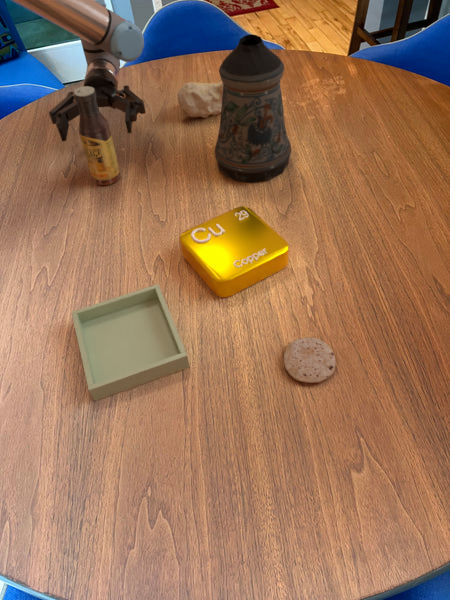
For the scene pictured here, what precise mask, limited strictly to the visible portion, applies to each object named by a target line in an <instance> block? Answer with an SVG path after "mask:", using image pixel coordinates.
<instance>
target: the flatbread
mask: <svg viewBox="0 0 450 600" xmlns="http://www.w3.org/2000/svg"><path fill="white" fill-rule="evenodd" d="M283 365H284V369H285V370H286V372H287V373H288V375H290V377H292V378H293V379H294V380H296V381H299V382H302V383H305V384H306V383H307V384H317V383H321V382H324V381H325V380H327V379H329V378H330V377H332V375H333V374H334V373H335V370H336V357H335V354H334V351H333V349H332V348H331V347H330V346H329V344H327V343H326V342H325V341H323V340H321V339H320V338H319V337H317V336H311V337H310V336H309V337H303V338H297V339H294V340H292V341H291V342H290V343H289V344H288V345H287V347H286V348H285V350H284V353H283Z"/></svg>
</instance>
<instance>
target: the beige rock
mask: <svg viewBox="0 0 450 600" xmlns="http://www.w3.org/2000/svg"><path fill="white" fill-rule="evenodd" d="M222 96H223V82H222V80H221V79H219V82H218V83H217V82H210V83H209V82H207V83H206V82H196V81H195V82H186V83H184V84H182V85H181V87H180V89H179V90H178V92H177V103H178V105H179V108H180V109H181V110H182V111H184V112H185V113H186V114H187V115H188V116H189V117H190V118H200V117H202V118H203V119H208V117H209V116H211V115H212V116H216V115H220V114H221V108H222Z"/></svg>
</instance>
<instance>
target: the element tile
mask: <svg viewBox="0 0 450 600" xmlns="http://www.w3.org/2000/svg"><path fill="white" fill-rule="evenodd" d="M179 243H180V248H181V253H182V257H183V258H184V260H185V261H186V262H188V264H189V265H190V266H191V268H192V269H193V270H194V271H195V273H197V275H198V276H199V277H200V278H201V279H202V281H203V282H204V283H205V284H206V286H207V287H208V288H209V289H210V290H211V291H212V292H213V294H214V295H216V296H217V297H219V298H223V299H224V298H229V297H232V296H234V295H236V294H238V293H240V292H241V291H244V290H245V289H247V288H250V287H252V286H253V285H255V284H257V283H259V282H261V281H263V280H265V279H267V278H269V277H271V276H273V275H274V274H276V273H278V272H280V271H282V270H284V269H285V268H286V267H287V266H288V264H289V254H290V245H289V243H288V242H287V240H286V239H285V238H283V236H281V235H280V234H279V233H278V232H277V231H276V230H275V229H274V228H273V227H271V225H269V224H268V222H266V221H265V220H264V219H262V218H261V217H260V216H259V215H258V214H257V213H256V212H255V211H254V210H252V209H251V207H247V206H245V205H243V206H238V207H235V208H233V209H230V210H228V211H225V212H224V213H222V214H219V215H217V216H214V217H213V218H210V219H208V220H206V221H204V222H201V223H200V224H197V225H194V226H192V227H191V228H188V229H187V230H185V231H183V232H182V233H181V234H180V236H179Z"/></svg>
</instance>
